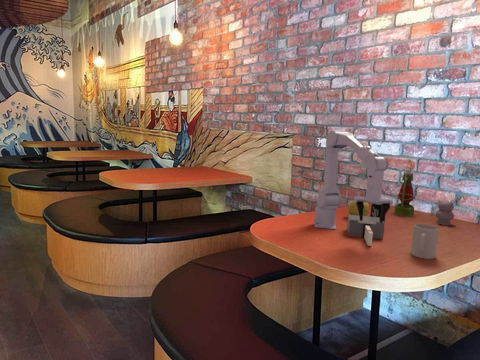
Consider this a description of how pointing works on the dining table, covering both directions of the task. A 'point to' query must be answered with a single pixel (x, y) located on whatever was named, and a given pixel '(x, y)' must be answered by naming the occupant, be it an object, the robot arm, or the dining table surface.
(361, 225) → the panel
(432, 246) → the mug
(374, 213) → the beverage can
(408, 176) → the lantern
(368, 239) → the pale narrow strip
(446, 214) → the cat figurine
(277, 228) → the dining table surface
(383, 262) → the dining table surface
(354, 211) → the fruit
